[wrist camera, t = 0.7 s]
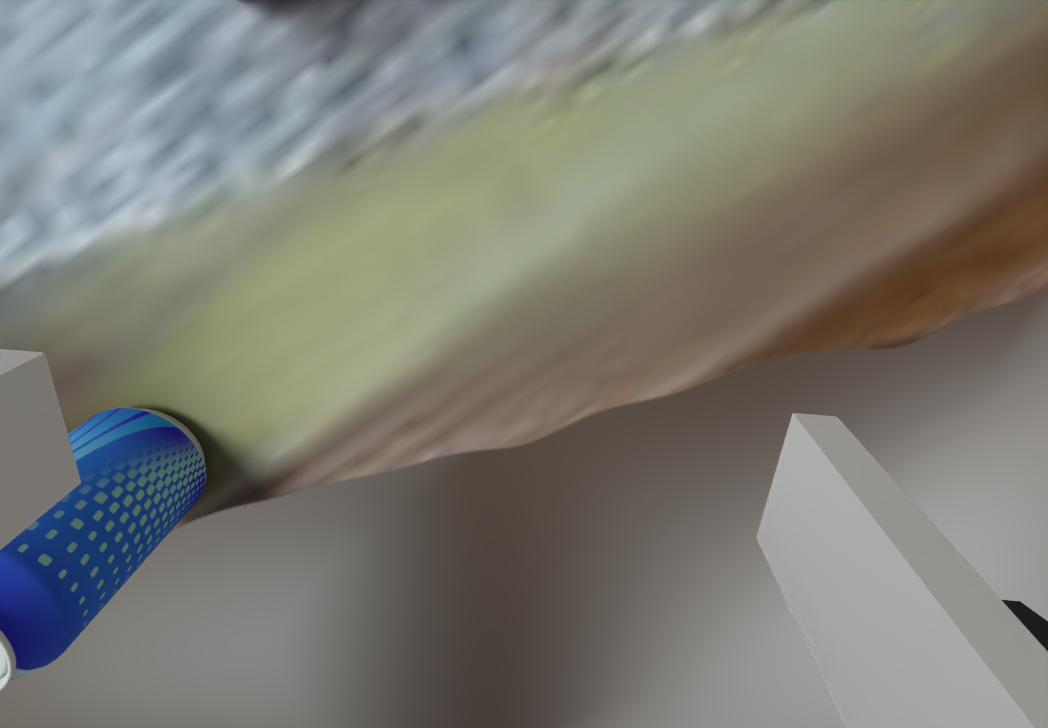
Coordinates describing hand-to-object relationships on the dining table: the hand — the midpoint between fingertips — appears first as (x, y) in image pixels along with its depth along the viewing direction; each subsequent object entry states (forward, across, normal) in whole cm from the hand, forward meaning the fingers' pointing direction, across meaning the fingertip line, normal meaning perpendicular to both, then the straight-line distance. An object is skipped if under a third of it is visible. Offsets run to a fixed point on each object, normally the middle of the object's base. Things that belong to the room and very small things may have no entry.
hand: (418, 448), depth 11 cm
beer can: (+25, -23, -18) cm, 39 cm away
